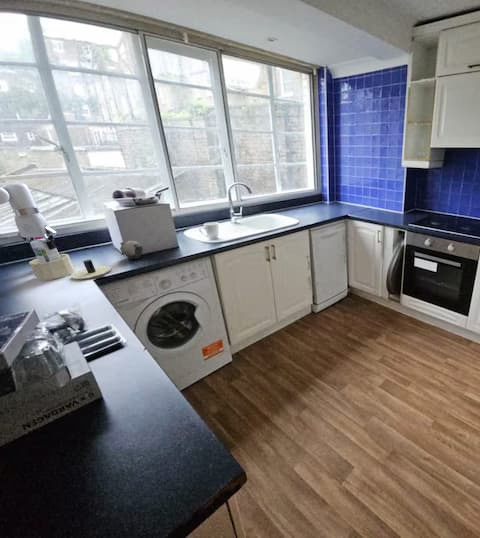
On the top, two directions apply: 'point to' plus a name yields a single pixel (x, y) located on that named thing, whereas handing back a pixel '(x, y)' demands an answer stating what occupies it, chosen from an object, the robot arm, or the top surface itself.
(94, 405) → the top surface
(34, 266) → the pot
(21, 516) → the top surface
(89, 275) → the lid
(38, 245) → the syrup box
